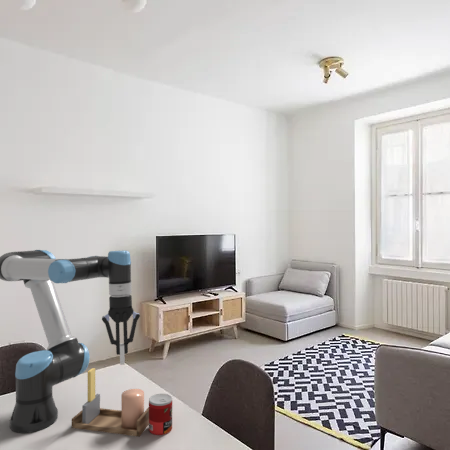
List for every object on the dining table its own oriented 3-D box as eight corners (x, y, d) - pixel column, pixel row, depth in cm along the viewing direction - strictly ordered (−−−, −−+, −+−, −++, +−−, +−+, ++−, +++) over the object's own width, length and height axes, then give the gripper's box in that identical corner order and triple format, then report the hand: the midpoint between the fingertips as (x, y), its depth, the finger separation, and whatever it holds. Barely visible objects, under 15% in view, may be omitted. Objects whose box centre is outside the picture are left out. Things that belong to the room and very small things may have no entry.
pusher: (82, 426, 129) (82, 374, 129) (96, 412, 138) (96, 364, 138) (85, 426, 128) (85, 375, 128) (99, 413, 137) (99, 365, 137)
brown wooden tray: (71, 429, 128) (71, 413, 128) (90, 412, 140) (90, 397, 140) (139, 438, 123) (139, 421, 123) (153, 420, 134) (153, 404, 134)
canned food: (167, 438, 123) (167, 404, 123) (144, 435, 125) (145, 402, 125) (175, 426, 131) (175, 394, 131) (153, 423, 132) (153, 392, 132)
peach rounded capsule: (117, 429, 127) (117, 397, 127) (127, 418, 134) (127, 387, 134) (138, 432, 125) (138, 399, 125) (147, 420, 133) (147, 389, 133)
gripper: (100, 298, 125) (102, 369, 124) (140, 295, 129) (142, 364, 128) (100, 295, 132) (102, 362, 132) (138, 292, 136) (140, 357, 135)
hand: (122, 363), depth 130 cm, fingers closed
